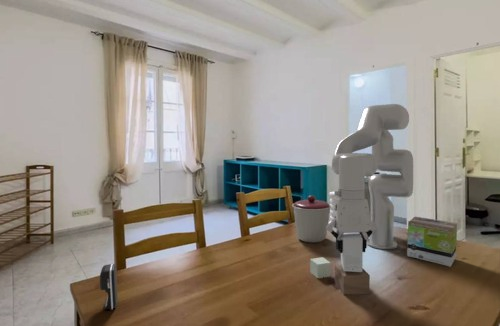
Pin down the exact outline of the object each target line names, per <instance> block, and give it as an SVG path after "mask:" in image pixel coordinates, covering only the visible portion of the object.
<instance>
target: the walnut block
mask: <svg viewBox="0 0 500 326" xmlns="http://www.w3.org/2000/svg"><path fill="white" fill-rule="evenodd" d="M370 279H371V275H370V274H369V273H368V272H367V271H366V270H365V269H364V267H362V272H351V271H344V270H343V267H342V264H335V265H334V283H335V285H336V287H339V288H338V289H339V291H340V290H341V291H340V292H341V294H342V295H343V294H353V295H370V290H371V289H370V285H371V284H370V283H371V282H370V281H371V280H370Z"/></svg>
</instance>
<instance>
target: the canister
mask: <svg viewBox="0 0 500 326" xmlns="http://www.w3.org/2000/svg"><path fill="white" fill-rule="evenodd" d="M330 204H331V203H328V202H327V201H324V200H319V199H316V197H315V196H314V195H308V196H307V199H302V200H301V199H300V200H298V201H295V202H294V203H292V205H291V206H292V208H293V215H294V222H295V231H296V235H297V238H298V239H299V240H301V241H303V242H306V243H313V244H314V243H321V242H323V241H325V240H326V239H327V238H326V237H327V234H328V230H327V229H326V226H327V225H328V224H329V219H330V210H331V205H330Z"/></svg>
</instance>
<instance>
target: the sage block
mask: <svg viewBox="0 0 500 326" xmlns="http://www.w3.org/2000/svg"><path fill="white" fill-rule="evenodd" d="M309 261H310V262H309V265H310V266H309V267H310V272H309V273H310V274H311V275H313V276H314V277H315V278H316V279H317V278H319V279H323V277H324V278H329V277H331V262H330V261H329V260H327V259H326V258H325V257H316V258H315V257H314V258H310V259H309Z"/></svg>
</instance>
